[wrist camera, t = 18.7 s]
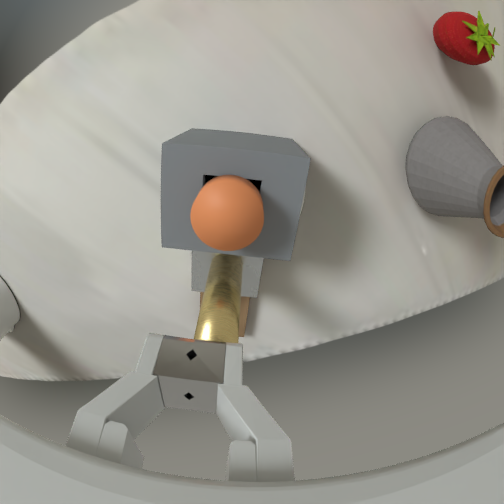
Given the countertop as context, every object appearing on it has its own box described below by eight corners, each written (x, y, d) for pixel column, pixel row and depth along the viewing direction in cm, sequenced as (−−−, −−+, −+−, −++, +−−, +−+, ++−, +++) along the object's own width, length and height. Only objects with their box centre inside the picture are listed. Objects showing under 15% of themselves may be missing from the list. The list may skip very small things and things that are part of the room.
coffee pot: (396, 212, 31) (467, 287, 18) (390, 114, 25) (485, 139, 12) (509, 194, 28) (578, 242, 15) (512, 117, 23) (592, 147, 10)
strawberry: (405, 17, 19) (458, -2, 10) (454, 22, 18) (509, 14, 9) (419, 65, 22) (476, 62, 13) (466, 66, 21) (523, 70, 12)
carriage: (196, 274, 33) (169, 373, 21) (197, 218, 30) (161, 308, 17) (256, 281, 33) (257, 383, 21) (265, 225, 30) (272, 321, 18)
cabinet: (187, 202, 30) (161, 247, 22) (191, 128, 27) (162, 143, 18) (285, 212, 31) (297, 261, 22) (297, 140, 27) (319, 160, 18)
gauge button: (211, 194, 28) (189, 247, 19) (215, 149, 26) (192, 179, 17) (257, 198, 29) (259, 254, 19) (263, 154, 26) (268, 187, 17)
